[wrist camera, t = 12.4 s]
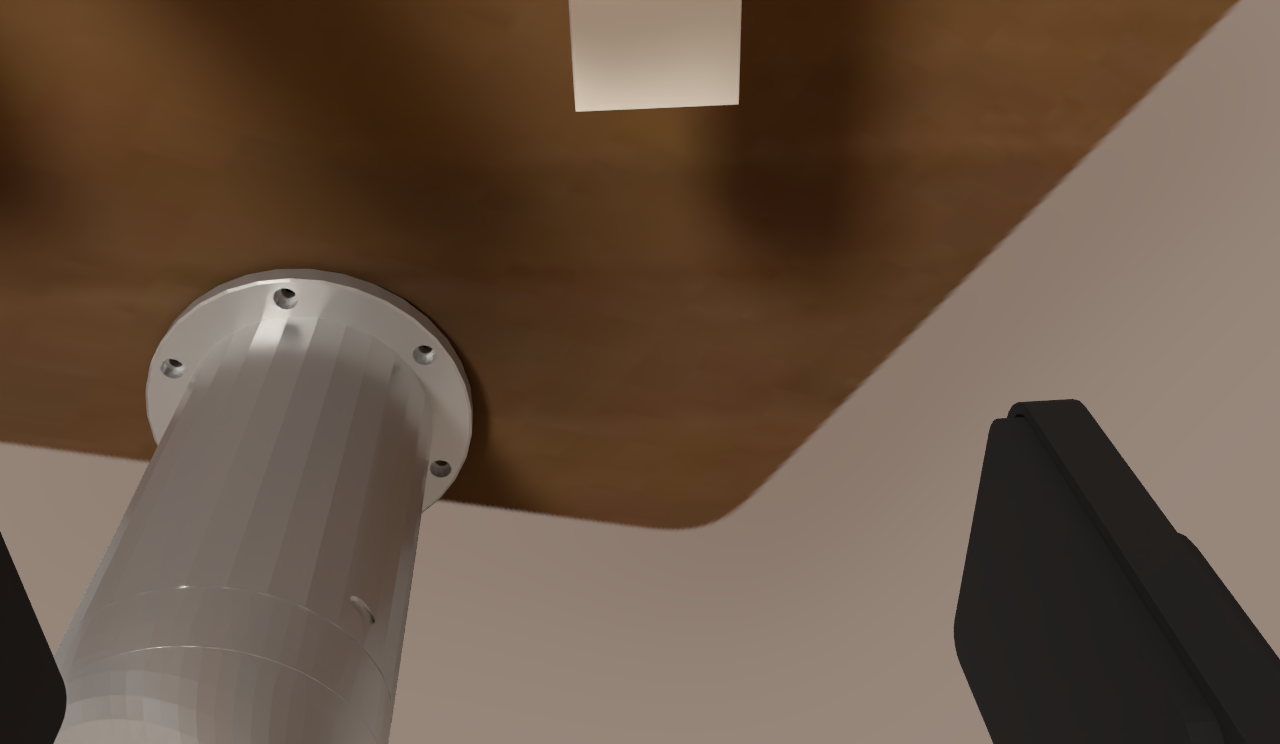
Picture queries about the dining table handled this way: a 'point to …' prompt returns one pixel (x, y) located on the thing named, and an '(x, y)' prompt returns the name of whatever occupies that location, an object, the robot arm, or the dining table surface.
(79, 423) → the dining table surface
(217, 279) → the dining table surface
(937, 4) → the dining table surface
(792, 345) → the dining table surface
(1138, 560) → the robot arm
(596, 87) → the ash bar
